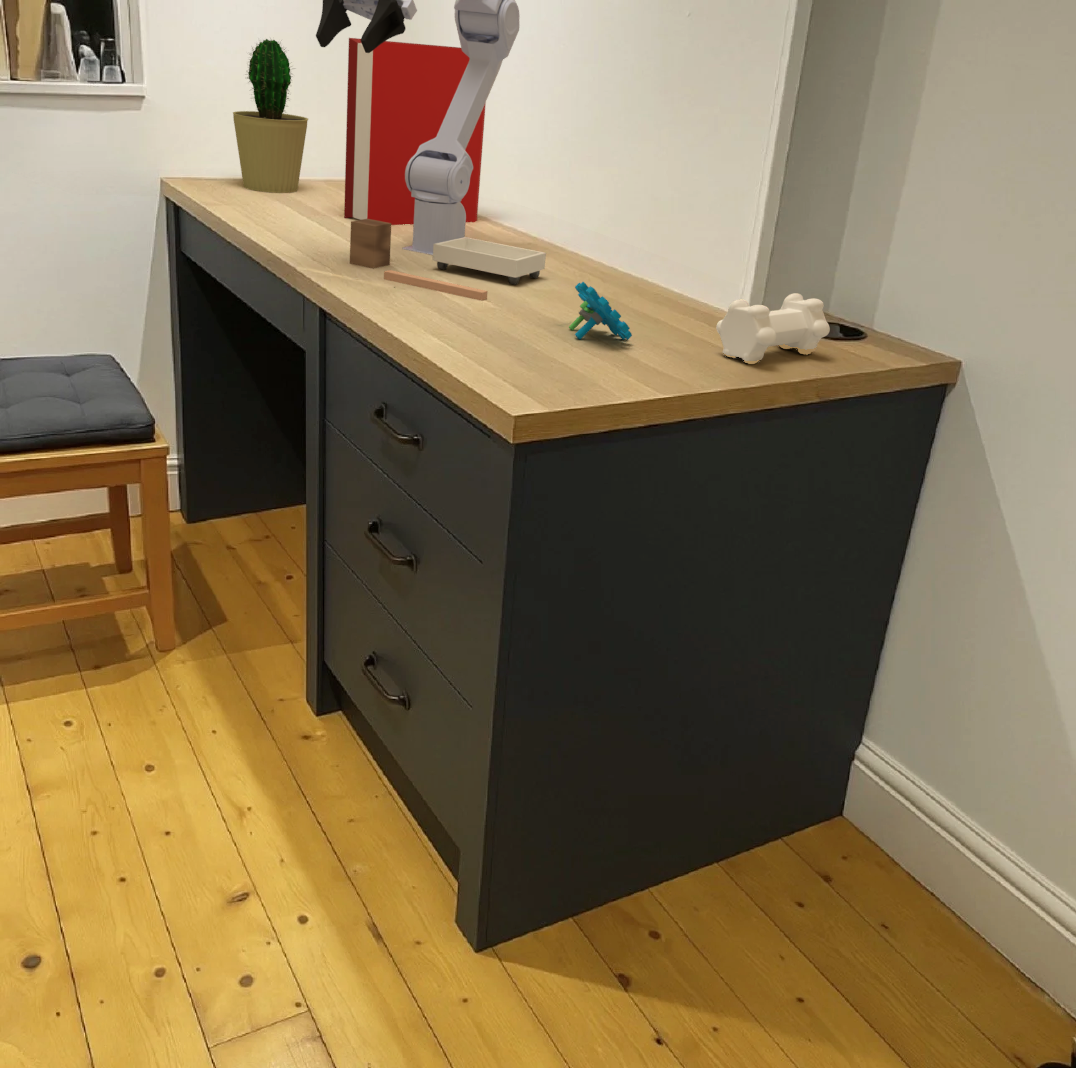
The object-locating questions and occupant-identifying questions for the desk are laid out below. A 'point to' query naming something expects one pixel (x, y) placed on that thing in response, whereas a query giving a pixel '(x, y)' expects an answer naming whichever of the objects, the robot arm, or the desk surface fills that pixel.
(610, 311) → the gear
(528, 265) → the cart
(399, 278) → the thin flat board
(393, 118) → the book
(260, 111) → the potted cactus
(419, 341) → the desk surface
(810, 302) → the white bone
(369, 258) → the walnut block
